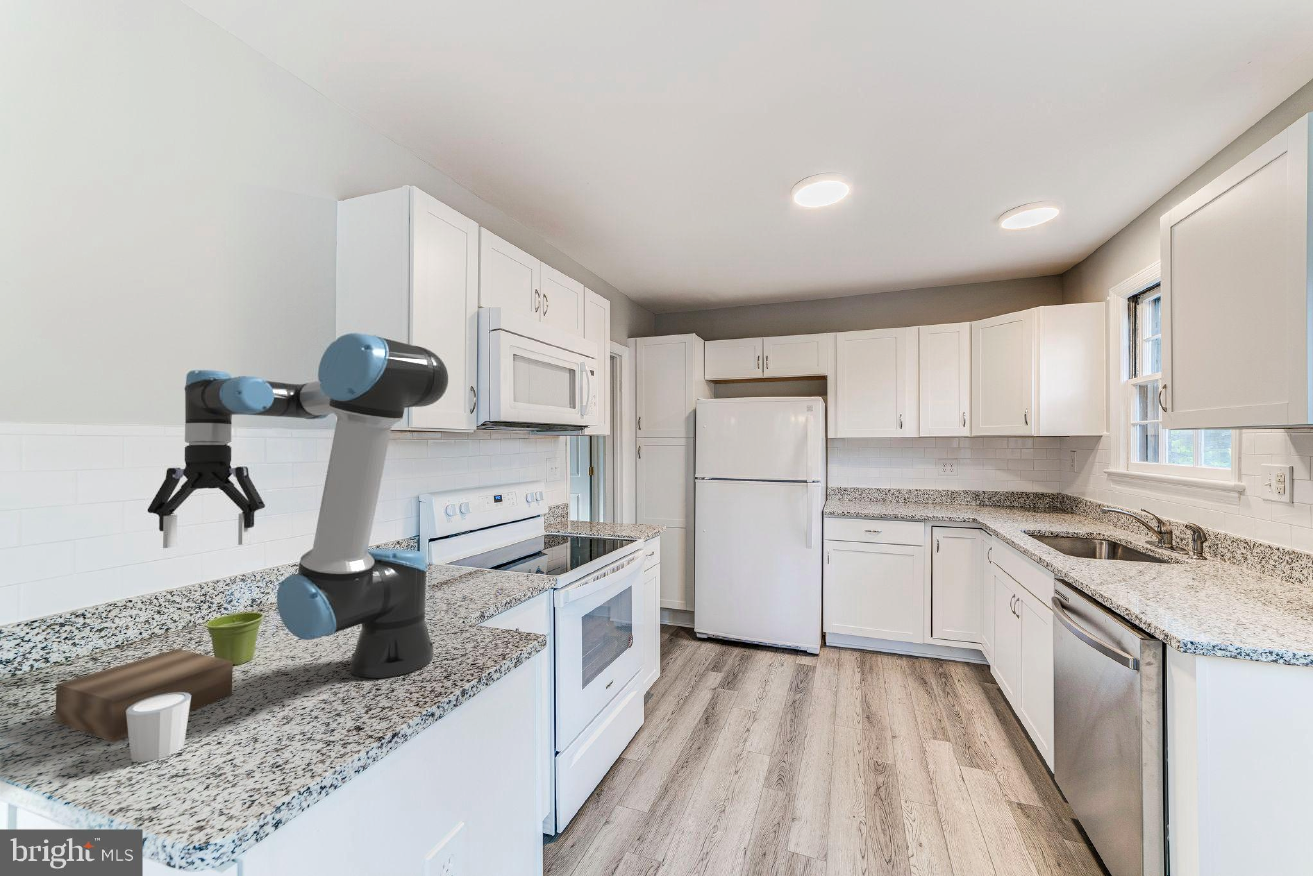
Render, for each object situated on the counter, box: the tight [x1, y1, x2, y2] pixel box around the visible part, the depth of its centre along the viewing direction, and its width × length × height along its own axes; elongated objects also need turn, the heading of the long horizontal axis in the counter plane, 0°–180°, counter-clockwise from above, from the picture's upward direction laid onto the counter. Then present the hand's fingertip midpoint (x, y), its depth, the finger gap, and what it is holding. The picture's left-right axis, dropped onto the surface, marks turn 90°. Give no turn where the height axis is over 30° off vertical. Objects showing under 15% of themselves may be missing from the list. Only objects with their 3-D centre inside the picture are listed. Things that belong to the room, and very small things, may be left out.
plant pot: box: [204, 611, 265, 666], centre depth 108 cm, size 9×9×9 cm
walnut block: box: [54, 648, 234, 743], centre depth 89 cm, size 16×16×6 cm
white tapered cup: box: [126, 692, 191, 763], centre depth 76 cm, size 7×7×7 cm
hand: (207, 545), depth 110 cm, fingers open, 13 cm apart
